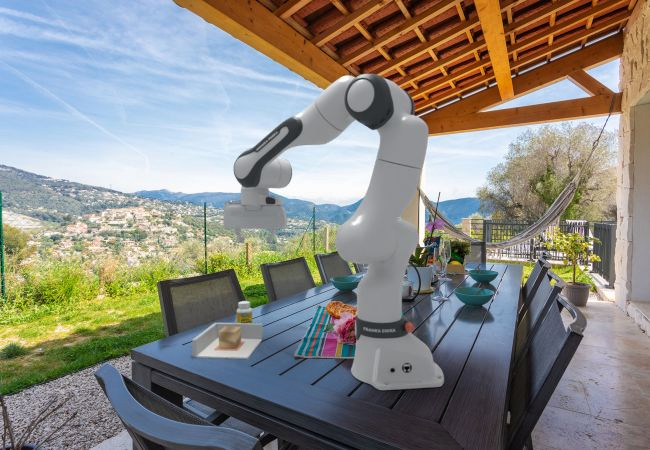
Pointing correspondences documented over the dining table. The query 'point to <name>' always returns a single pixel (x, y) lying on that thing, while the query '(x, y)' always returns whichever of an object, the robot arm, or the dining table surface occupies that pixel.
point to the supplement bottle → (244, 312)
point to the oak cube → (229, 337)
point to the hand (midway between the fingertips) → (255, 243)
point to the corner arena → (209, 348)
